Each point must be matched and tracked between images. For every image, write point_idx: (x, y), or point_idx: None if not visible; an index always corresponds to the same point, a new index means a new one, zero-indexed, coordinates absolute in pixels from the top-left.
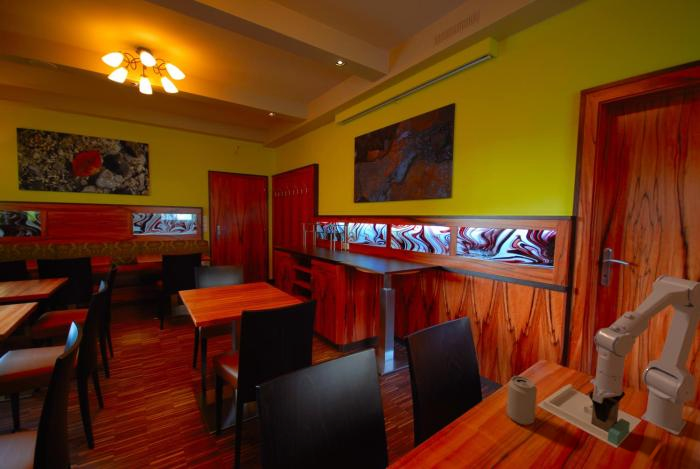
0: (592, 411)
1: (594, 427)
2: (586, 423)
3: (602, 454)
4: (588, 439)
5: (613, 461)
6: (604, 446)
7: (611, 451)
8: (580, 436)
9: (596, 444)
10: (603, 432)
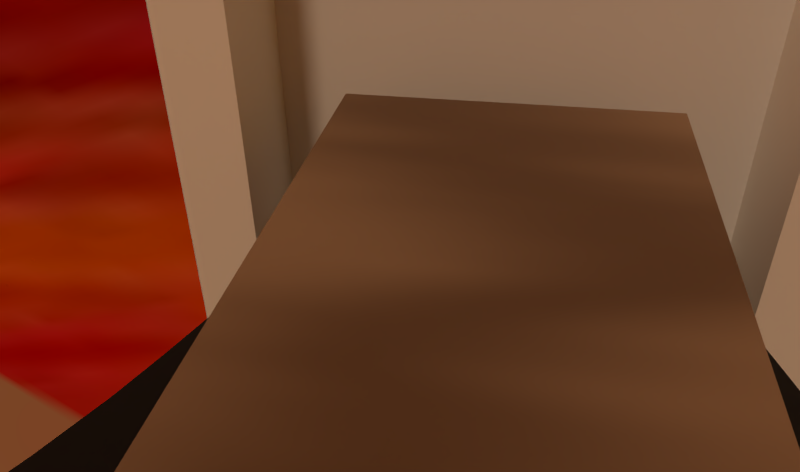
0: (254, 249)
1: (189, 205)
2: (166, 78)
3: (4, 288)
4: (84, 114)
5: (24, 371)
6: (160, 274)
7: (154, 336)
8: (26, 17)
9: (97, 208)
10: (208, 317)
